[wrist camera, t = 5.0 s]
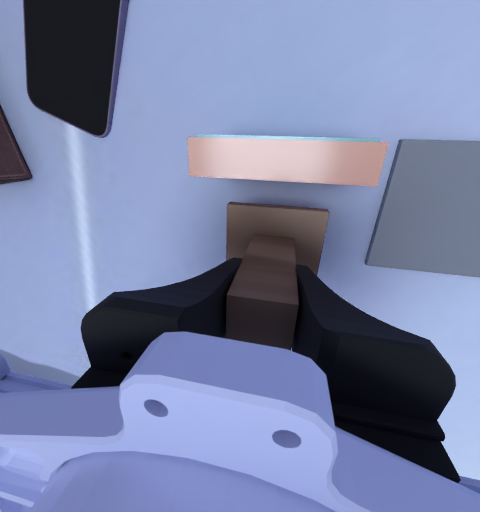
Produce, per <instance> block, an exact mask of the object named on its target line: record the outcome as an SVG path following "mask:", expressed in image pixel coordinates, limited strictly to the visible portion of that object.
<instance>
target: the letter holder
mask: <svg viewBox="0 0 480 512" xmlns="http://www.w3.org/2000/svg"><path fill="white" fill-rule="evenodd" d="M31 177H32V175H31V174H30V172H29V170H28V168H27V166H26V164H25V161H24V159H23V157H22V155H21V153H20V150H19V148H18V146H17V144H16V141H15V139H14V137H13V135H12V132H11V130H10V128H9V126H8V123H7V121H6V119H5V117H4V114H3V112H2V110H1V108H0V184H4V183H10V182H17V181H23V180H28V179H30V178H31Z"/></svg>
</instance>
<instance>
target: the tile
mask: <svg viewBox="0 0 480 512" xmlns="http://www.w3.org/2000/svg"><path fill="white" fill-rule="evenodd" d="M379 140H380V139H371V138H330V137H289V136H249V135H208V134H196V137H188V155H189V175H190V176H196V177H214V178H232V179H250V180H268V181H286V182H303V183H321V184H339V185H357V186H375V187H377V186H378V182H379V178H380V175H381V171H382V167H383V163H384V160H385V156H386V152H387V148H388V145H389V142H379Z"/></svg>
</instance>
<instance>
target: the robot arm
mask: <svg viewBox="0 0 480 512" xmlns="http://www.w3.org/2000/svg"><path fill="white" fill-rule="evenodd" d="M242 259H243V258H236V257H233V258H231V259H229V260H227V261H226V262H224V263H222V264H220V265H219V266H217V267H215V268H213V269H211V270H209V271H207V272H205V273H203V274H201V275H199V276H196V277H194V278H191V279H188V280H185V281H182V282H179V283H175V284H171V285H167V286H163V287H157V288H151V289H145V290H136V291H124V292H113V293H112V294H111V295H109V296H108V297H107V298H106V299H104V300H103V301H102V302H100V303H99V304H98V305H97V306H95V307H94V308H93V309H92V310H90V311H89V312H88V313H86V315H85V316H84V318H83V320H82V324H81V333H82V339H83V342H84V345H85V348H86V351H87V354H88V358H89V361H90V364H91V367H90V368H89V369H88V370H87V371H86V372H85V373H84V375H83V376H82V377H81V378H80V379H79V380H78V381H77V382H76V383H75V384H74V385H73V386H72V385H68V384H64V383H59V382H55V381H51V380H46V379H42V378H38V377H33V376H29V375H25V374H21V373H16V372H12V371H11V370H10V369H11V368H10V366H9V363H8V361H7V360H6V359H5V357H4V356H3V355H1V354H0V512H480V480H475V479H471V478H467V477H462V476H459V475H458V473H457V471H456V469H455V467H454V465H453V464H452V462H451V460H450V458H449V456H448V454H447V452H446V450H445V449H444V447H443V445H442V443H441V441H444V439H445V434H444V432H443V430H442V428H441V427H440V425H439V423H438V421H437V419H438V418H439V416H440V415H441V413H442V411H443V410H444V408H445V407H446V405H447V403H448V402H449V400H450V399H451V397H452V395H453V392H454V390H455V387H456V381H455V375H454V373H453V371H452V369H451V367H450V365H449V364H448V363H447V362H446V360H445V359H444V358H443V356H442V355H441V354H440V352H439V351H438V350H437V349H436V347H435V346H434V345H433V343H432V342H431V341H430V340H428V339H425V338H422V337H420V336H417V335H414V334H412V333H409V332H406V331H404V330H401V329H398V328H396V327H394V326H391V325H389V324H387V323H385V322H382V321H380V320H378V319H376V318H374V317H372V316H370V315H368V314H366V313H365V312H363V311H361V310H359V309H358V308H356V307H354V306H353V305H351V304H350V303H348V302H347V301H345V300H344V299H342V298H341V297H340V296H338V295H337V294H336V293H334V292H333V291H332V290H331V289H330V288H329V287H327V286H326V285H325V284H324V283H323V282H322V281H321V280H320V279H319V278H318V277H317V276H316V275H315V274H314V273H313V272H312V270H311V269H310V268H309V267H308V266H306V265H297V264H296V267H295V269H296V273H297V287H298V302H299V306H298V312H297V318H296V324H295V330H294V336H293V341H292V351H290V350H287V349H282V348H277V347H271V346H265V345H259V344H254V343H248V342H242V341H236V340H231V339H226V303H227V293H228V291H229V288H230V286H231V284H232V282H233V279H234V277H235V275H236V273H237V270H238V268H239V266H240V264H241V263H242Z"/></svg>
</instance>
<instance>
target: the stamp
mask: <svg viewBox="0 0 480 512" xmlns="http://www.w3.org/2000/svg"><path fill="white" fill-rule="evenodd" d="M328 217H329V211H328V209H319V208H306V207H292V206H279V205H266V204H252V203H239V202H229V203H228V204H227V246H226V261H227V260H229V259H231V258H233V257H236V258H243V259H242V263H241V264H240V266H239V268H238V270H237V273H236V275H235V277H234V279H233V282H232V284H231V286H230V288H229V291H228V293H227V303H226V339H231V340H236V341H242V342H248V343H254V344H259V345H265V346H271V347H277V348H282V349H287V350H290V351H291V347H292V341H293V336H294V330H295V324H296V318H297V312H298V306H299V302H298V287H297V273H296V269H295V267H296V264H297V265H306V266H308V267H309V268H310V269H311V270H312V272H313V273H314V274H315V275H316V276H317V273H318V268H319V263H320V258H321V253H322V248H323V243H324V238H325V233H326V227H327V222H328Z"/></svg>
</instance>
